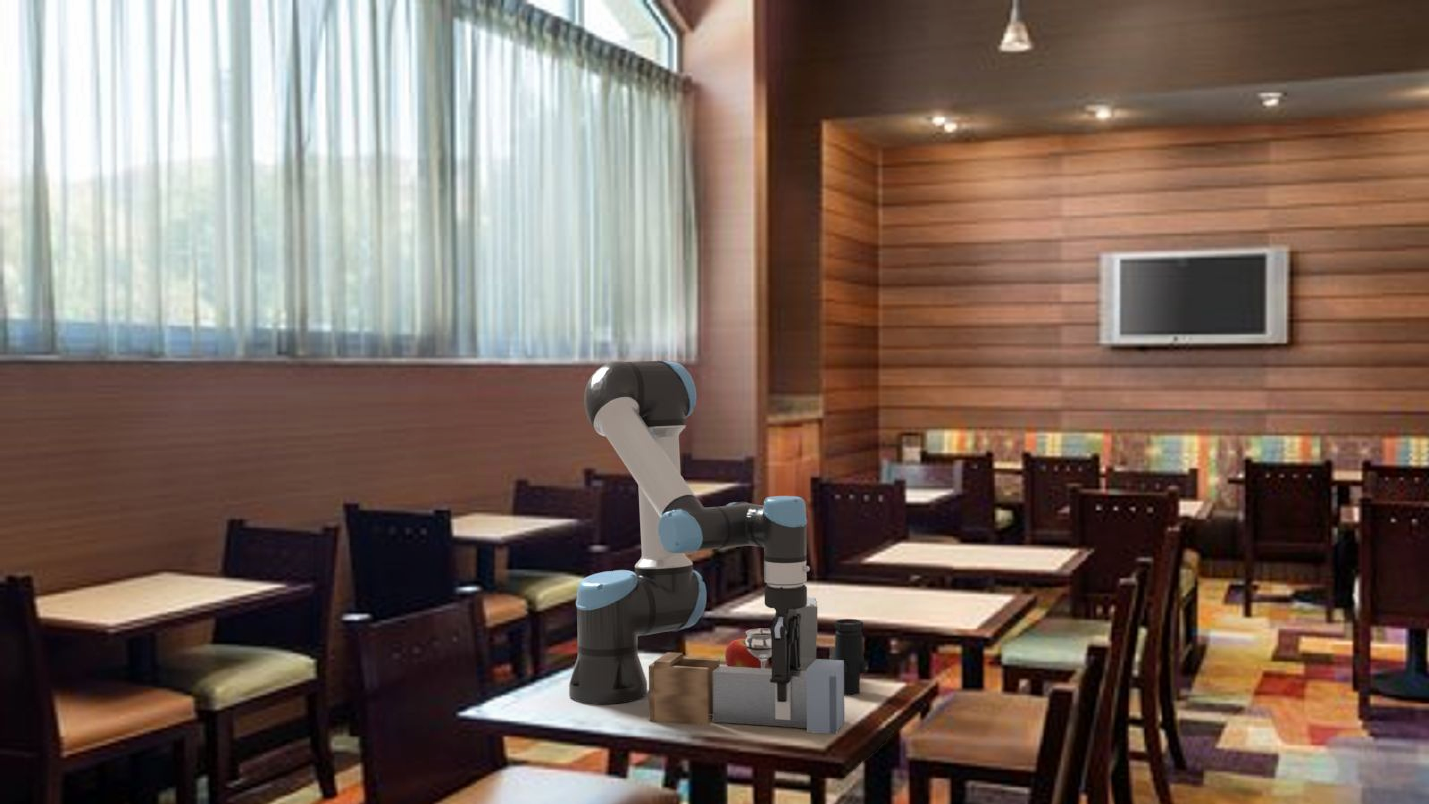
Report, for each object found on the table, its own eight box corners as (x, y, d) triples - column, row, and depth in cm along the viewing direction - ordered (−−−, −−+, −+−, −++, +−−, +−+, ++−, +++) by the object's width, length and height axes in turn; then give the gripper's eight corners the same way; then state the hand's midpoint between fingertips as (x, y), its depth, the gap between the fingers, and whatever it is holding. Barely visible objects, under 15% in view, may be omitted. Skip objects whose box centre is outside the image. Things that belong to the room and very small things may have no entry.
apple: (750, 674, 272) (749, 626, 272) (773, 682, 265) (773, 632, 265) (717, 679, 267) (717, 630, 267) (740, 687, 261) (739, 637, 260)
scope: (828, 615, 262) (876, 619, 257) (829, 684, 263) (876, 690, 258) (811, 622, 255) (859, 627, 250) (812, 693, 255) (860, 699, 251)
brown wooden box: (649, 720, 237) (648, 661, 237) (663, 709, 245) (662, 652, 244) (707, 725, 234) (707, 664, 234) (720, 713, 242) (719, 655, 241)
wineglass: (786, 696, 254) (785, 633, 254) (753, 699, 252) (752, 636, 251) (772, 687, 260) (772, 627, 260) (740, 691, 258) (739, 630, 258)
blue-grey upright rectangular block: (806, 732, 229) (806, 669, 229) (816, 720, 237) (816, 659, 236) (835, 734, 228) (834, 670, 227) (844, 721, 235) (843, 660, 235)
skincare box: (782, 672, 274) (781, 596, 273) (817, 671, 273) (816, 595, 273) (783, 682, 265) (782, 603, 265) (819, 681, 265) (818, 603, 264)
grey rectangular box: (712, 722, 236) (712, 671, 235) (720, 715, 240) (719, 665, 240) (828, 730, 230) (828, 678, 229) (833, 723, 234) (833, 672, 234)
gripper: (795, 593, 224) (796, 730, 225) (816, 577, 241) (817, 704, 241) (752, 591, 226) (753, 727, 227) (776, 575, 243) (778, 701, 244)
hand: (786, 714), depth 234 cm, fingers closed on grey rectangular box, 4 cm apart
